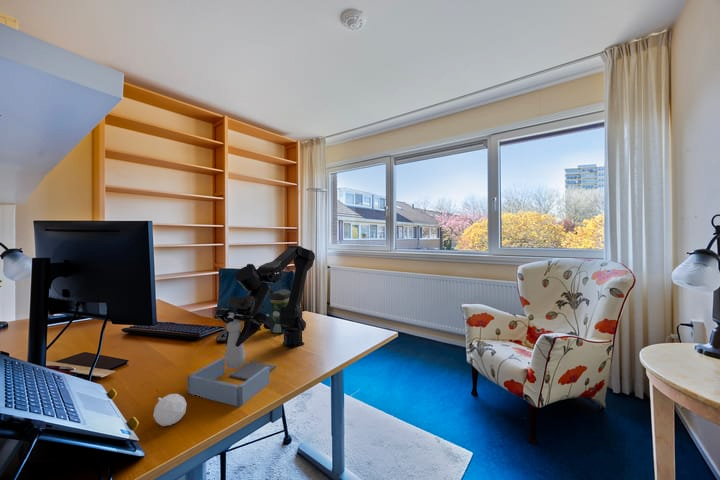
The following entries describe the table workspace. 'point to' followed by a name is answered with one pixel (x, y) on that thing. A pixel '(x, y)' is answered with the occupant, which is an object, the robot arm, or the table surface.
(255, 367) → the coaster
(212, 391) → the cradle
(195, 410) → the table surface
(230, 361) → the salt shaker
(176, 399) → the ornament
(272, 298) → the coffee jar
